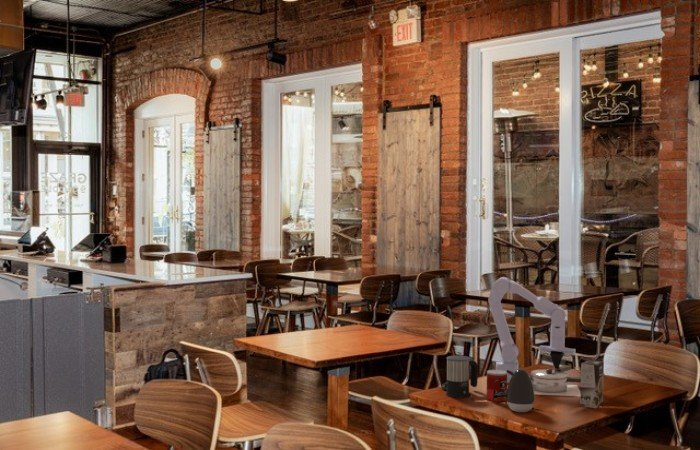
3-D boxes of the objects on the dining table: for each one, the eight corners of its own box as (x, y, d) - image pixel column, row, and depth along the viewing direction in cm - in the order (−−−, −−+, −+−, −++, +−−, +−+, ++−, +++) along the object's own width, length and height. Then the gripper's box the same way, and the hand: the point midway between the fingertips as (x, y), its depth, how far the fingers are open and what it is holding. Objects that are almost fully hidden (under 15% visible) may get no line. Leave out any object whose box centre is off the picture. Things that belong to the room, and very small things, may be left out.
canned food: (494, 403, 309) (495, 374, 309) (482, 399, 316) (482, 370, 316) (511, 401, 312) (511, 372, 312) (498, 397, 320) (498, 368, 319)
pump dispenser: (508, 405, 306) (509, 365, 305) (536, 409, 302) (537, 367, 301) (502, 412, 297) (503, 370, 296) (531, 415, 293) (532, 372, 292)
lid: (556, 380, 319) (556, 374, 319) (523, 375, 329) (523, 369, 329) (584, 372, 336) (584, 366, 336) (552, 367, 346) (552, 361, 346)
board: (530, 396, 321) (530, 393, 321) (526, 385, 341) (527, 382, 341) (583, 399, 318) (583, 396, 318) (576, 387, 338) (576, 385, 338)
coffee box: (596, 408, 303) (597, 365, 303) (579, 406, 307) (580, 363, 306) (603, 403, 311) (604, 361, 311) (586, 401, 315) (587, 359, 314)
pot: (524, 391, 324) (525, 378, 324) (522, 384, 338) (523, 370, 338) (590, 395, 321) (590, 380, 320) (585, 387, 334) (585, 373, 334)
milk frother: (460, 399, 315) (460, 360, 315) (427, 392, 326) (427, 355, 326) (481, 393, 326) (481, 355, 325) (448, 386, 336) (449, 350, 336)
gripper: (537, 336, 338) (536, 369, 339) (572, 340, 330) (571, 373, 331) (542, 334, 344) (542, 366, 345) (577, 337, 336) (576, 370, 337)
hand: (556, 369), depth 338 cm, fingers closed
